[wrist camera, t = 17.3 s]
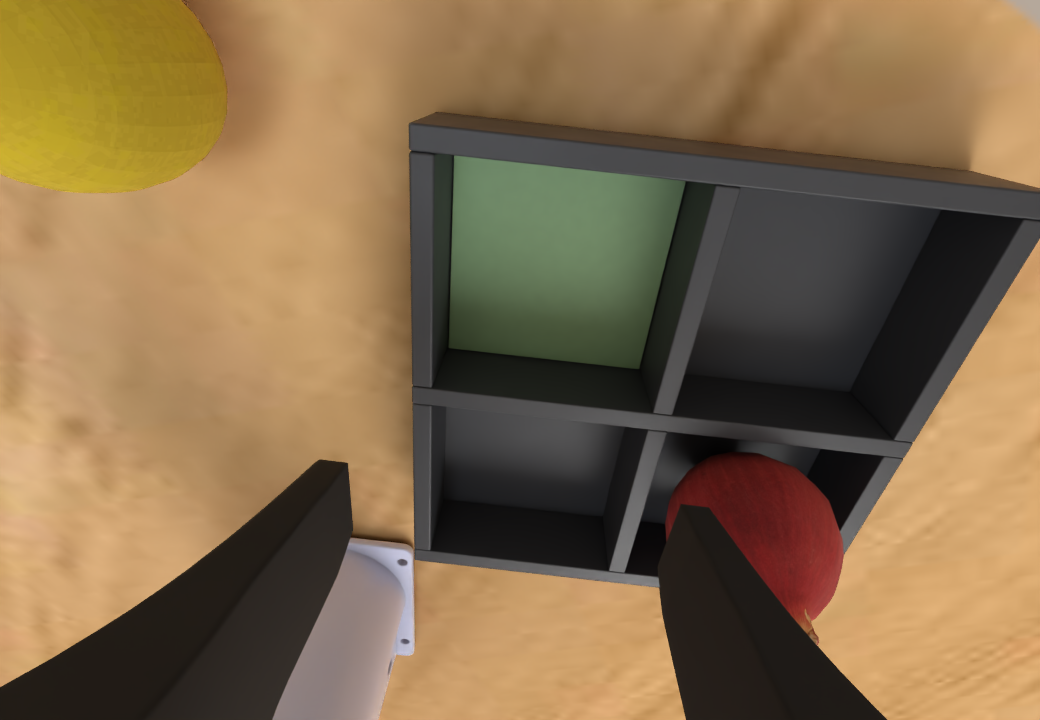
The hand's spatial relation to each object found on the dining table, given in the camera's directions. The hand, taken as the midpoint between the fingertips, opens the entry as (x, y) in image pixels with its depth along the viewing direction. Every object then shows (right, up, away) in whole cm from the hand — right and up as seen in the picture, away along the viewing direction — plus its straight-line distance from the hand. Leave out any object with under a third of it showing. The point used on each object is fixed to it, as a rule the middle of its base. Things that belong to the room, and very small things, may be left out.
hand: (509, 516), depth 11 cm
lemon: (-10, +13, +5) cm, 17 cm away
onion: (+9, -1, +11) cm, 14 cm away
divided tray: (+5, +3, +9) cm, 11 cm away
